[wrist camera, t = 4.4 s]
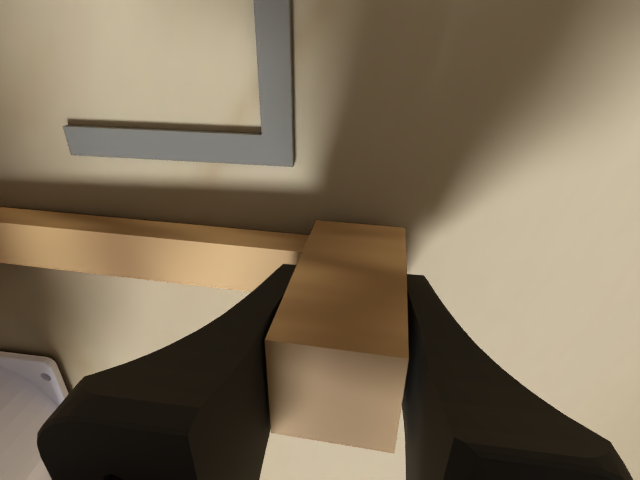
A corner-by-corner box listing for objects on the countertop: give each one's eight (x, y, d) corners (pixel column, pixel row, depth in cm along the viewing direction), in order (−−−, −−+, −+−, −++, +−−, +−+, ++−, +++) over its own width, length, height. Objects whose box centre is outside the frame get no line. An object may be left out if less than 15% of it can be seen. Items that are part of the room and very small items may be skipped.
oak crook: (-63, 249, 18) (-257, 344, 12) (-175, 27, 14) (-532, 30, 8) (396, 301, 15) (394, 453, 10) (429, 38, 11) (456, 52, 5)
